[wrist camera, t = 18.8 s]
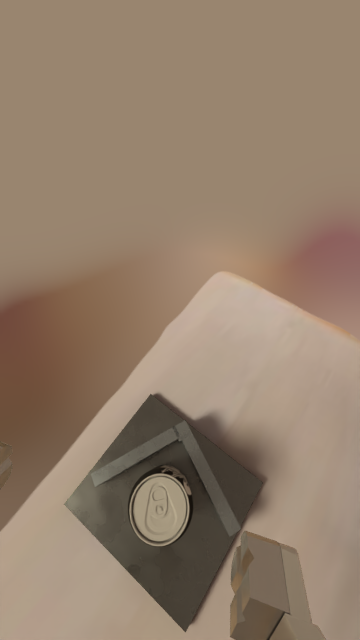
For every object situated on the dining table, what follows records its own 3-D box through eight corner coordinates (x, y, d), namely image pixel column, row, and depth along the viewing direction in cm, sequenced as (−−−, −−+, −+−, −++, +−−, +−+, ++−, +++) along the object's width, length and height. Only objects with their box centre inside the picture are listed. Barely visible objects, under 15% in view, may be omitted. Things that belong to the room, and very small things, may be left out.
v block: (185, 626, 31) (186, 656, 26) (67, 502, 36) (51, 509, 32) (260, 482, 38) (272, 485, 33) (151, 395, 43) (148, 388, 38)
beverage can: (142, 526, 34) (127, 559, 24) (138, 468, 37) (123, 474, 26) (193, 517, 35) (199, 545, 24) (185, 460, 38) (188, 463, 27)
